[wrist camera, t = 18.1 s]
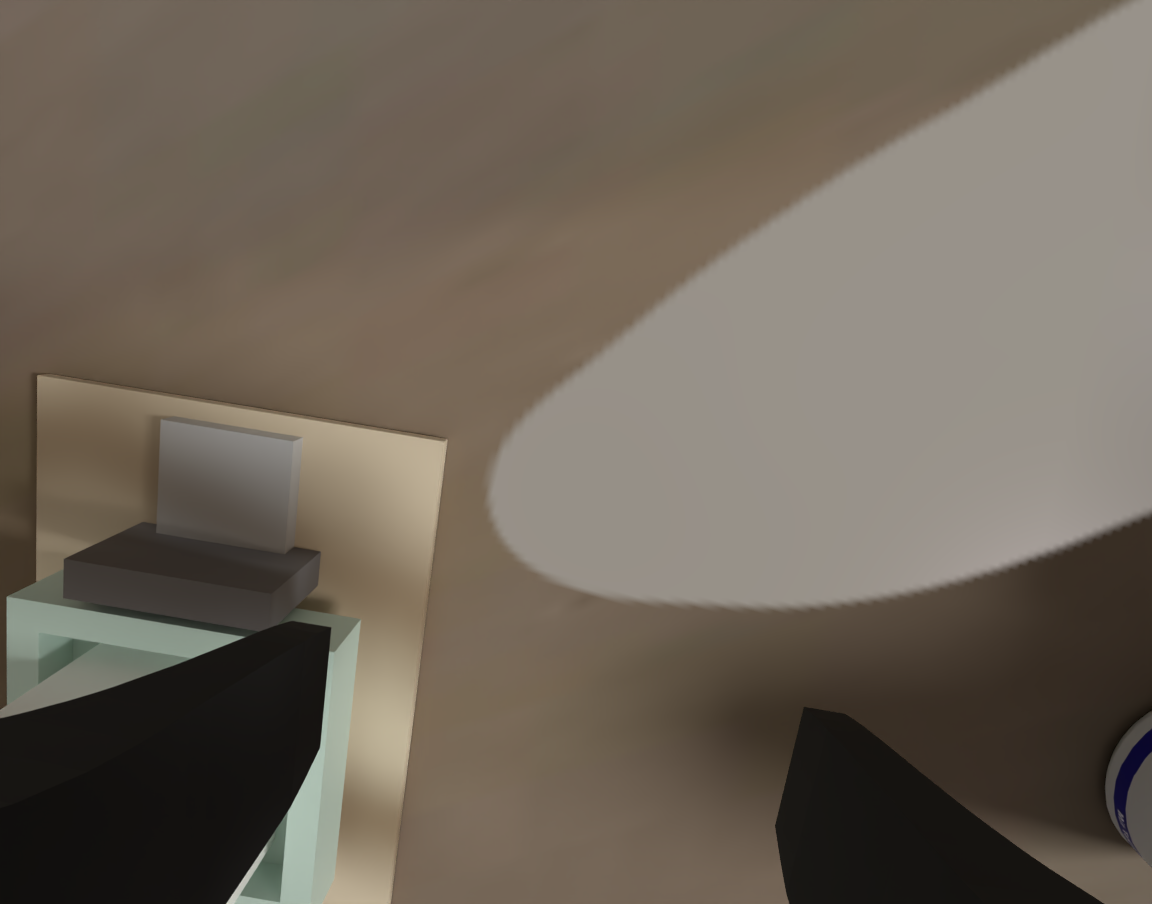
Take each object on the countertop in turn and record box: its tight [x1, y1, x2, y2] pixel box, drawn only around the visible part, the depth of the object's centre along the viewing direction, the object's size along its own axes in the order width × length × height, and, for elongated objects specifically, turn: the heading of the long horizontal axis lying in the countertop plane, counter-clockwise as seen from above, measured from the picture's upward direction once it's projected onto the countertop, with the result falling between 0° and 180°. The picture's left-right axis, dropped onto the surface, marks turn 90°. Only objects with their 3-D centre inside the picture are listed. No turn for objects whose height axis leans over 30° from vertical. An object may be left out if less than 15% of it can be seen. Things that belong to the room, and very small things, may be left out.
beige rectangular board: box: [36, 374, 448, 904], centre depth 21 cm, size 21×11×3 cm, turn 171°
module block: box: [0, 643, 276, 904], centre depth 17 cm, size 5×5×6 cm
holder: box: [7, 569, 361, 904], centre depth 20 cm, size 8×8×2 cm
